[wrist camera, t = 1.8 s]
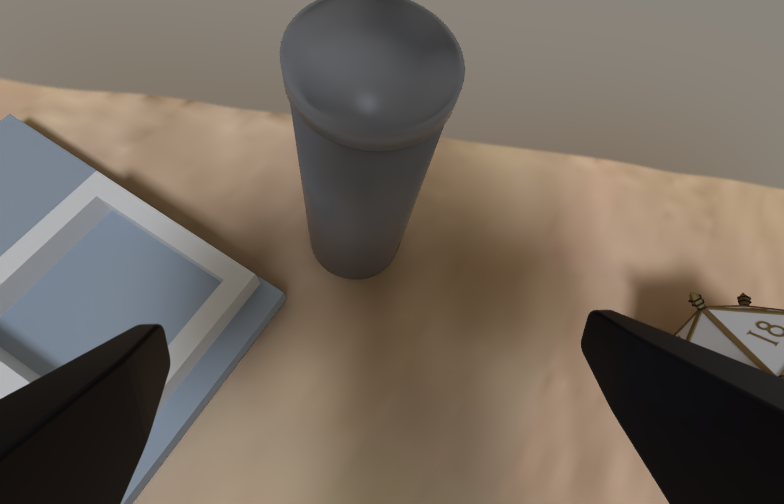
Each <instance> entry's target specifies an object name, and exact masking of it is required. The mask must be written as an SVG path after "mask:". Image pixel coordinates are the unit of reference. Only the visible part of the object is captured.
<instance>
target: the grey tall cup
mask: <svg viewBox="0 0 784 504" xmlns="http://www.w3.org/2000/svg"><path fill="white" fill-rule="evenodd" d="M280 63H281V69H282V75H283V81H284V87H285V91H286V94H287V97H288V99H289V102H290V105H291V111H292V119H293V125H294V132H295V139H296V146H297V153H298V159H299V166H300V173H301V180H302V187H303V194H304V200H305V207H306V214H307V221H308V228H309V235H310V241H311V247H312V250H313V253H314V255H315V257H316V259H317V260H318V261H319V263H320V264H321V265H322V266H323V267H324V268H325V269H327V270H328V271H329V272H331V273H333V274H335V275H337V276H340V277H343V278H348V279H363V278H368V277H371V276H374V275H376V274H378V273H379V272H381V271H382V270H384V269H385V268H386V267H387V266H388V265H389V264H390V263H391V261H392V260H393V258H394V256H395V254H396V252H397V249H398V247H399V244H400V241H401V239H402V236H403V233H404V231H405V228H406V225H407V223H408V220H409V217H410V215H411V212H412V209H413V207H414V204H415V201H416V199H417V196H418V193H419V191H420V188H421V185H422V183H423V180H424V177H425V175H426V172H427V169H428V167H429V164H430V161H431V159H432V156H433V153H434V151H435V148H436V145H437V143H438V140H439V137H440V135H441V132H442V129H443V127H444V124H445V123H446V121H447V120H448V119H449V117H450V115H451V113H452V111H453V109H454V107H455V104H456V102H457V99H458V97H459V94H460V91H461V89H462V85H463V82H464V74H465V65H464V59H463V54H462V51H461V48H460V46H459V43H458V42H457V40H456V38H455V36H454V35H453V33H452V32H451V31H450V29H449V28H448V27H447V26H446V25H445V24H444V23H443V22H442V21H441V20H440V19H439V18H438V17H437V16H436V15H434V14H433V13H432V12H430V11H429V10H427V9H425V8H424V7H422V6H421V5H419V4H417V3H415V2H413V1H411V0H317V1H315V2H313V3H311V4H309V5H308V6H306V7H305V8H304V9H302V10H301V11H300V12H299V13H298V14H297V15H296V16H295V17H294V18H293V20H292V21H291V22H290V23H289V25H288V26H287V28H286V30H285V32H284V35H283V38H282V41H281V47H280Z"/></svg>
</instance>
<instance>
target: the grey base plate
mask: <svg viewBox="0 0 784 504" xmlns="http://www.w3.org/2000/svg"><path fill="white" fill-rule="evenodd" d="M286 299H287V298H286V296H285V294H284V292H282V291H280V290H279V289H277V288H276V287H274V286H273V285H271V284H270V283H268V282H267V281H265V280H264V279H262V278H261V277H259V276H257V275H256V274H254V273H253V272H251V271H250V270H248V269H247V268H245V267H244V266H242V265H241V264H239V263H238V262H236V261H235V260H233V259H231V258H230V257H228V256H227V255H225V254H224V253H222V252H221V251H219V250H218V249H216V248H215V247H213V246H212V245H210V244H208V243H207V242H205V241H204V240H202V239H201V238H199V237H198V236H196V235H195V234H193V233H192V232H190V231H189V230H187V229H185V228H184V227H182V226H181V225H179V224H178V223H176V222H175V221H173V220H172V219H170V218H169V217H167V216H166V215H164V214H163V213H161V212H159V211H158V210H156V209H155V208H153V207H152V206H150V205H149V204H147V203H146V202H144V201H143V200H141V199H140V198H138V197H136V196H135V195H133V194H132V193H130V192H129V191H127V190H126V189H124V188H123V187H121V186H120V185H118V184H117V183H115V182H113V181H112V180H110V179H109V178H107V177H106V176H104V175H103V174H101V173H100V172H98V171H97V170H95V169H94V168H92V167H91V166H89V165H87V164H86V163H84V162H83V161H81V160H80V159H78V158H77V157H75V156H74V155H72V154H71V153H69V152H68V151H66V150H64V149H63V148H61V147H60V146H58V145H57V144H55V143H54V142H52V141H51V140H49V139H48V138H46V137H45V136H43V135H42V134H40V133H38V132H37V131H35V130H34V129H32V128H31V127H29V126H28V125H26V124H25V123H23V122H22V121H20V120H19V119H17V118H15V117H14V116H12V115H11V114H9V115H8V116H6V117H5V118H4V119H2V120H1V121H0V399H1V398H3V397H5V396H6V395H8V394H10V393H12V392H14V391H16V390H18V389H19V388H21V387H23V386H25V385H27V384H29V383H31V382H32V381H34V380H36V379H38V378H40V377H42V376H43V375H45V374H47V373H49V372H51V371H53V370H55V369H56V368H58V367H60V366H62V365H64V364H66V363H67V362H69V361H71V360H73V359H75V358H77V357H79V356H80V355H82V354H84V353H86V352H88V351H90V350H92V349H93V348H95V347H97V346H99V345H101V344H103V343H104V342H106V341H108V340H110V339H112V338H114V337H116V336H117V335H119V334H121V333H123V332H125V331H127V330H129V329H130V328H132V327H134V326H136V325H139V324H160V325H162V326H163V328H164V331H165V335H166V340H167V345H168V349H169V354H170V370H169V374H168V377H167V380H166V383H165V387H164V390H163V393H162V397H161V400H160V403H159V406H158V410H157V413H156V416H155V419H154V423H153V426H152V429H151V432H150V435H149V438H148V441H147V444H146V446H145V449H144V451H143V454H142V456H141V458H140V460H139V463H138V465H137V467H136V470H135V472H134V474H133V477H132V479H131V481H130V483H129V486H128V488H127V490H126V493H125V495H124V497H123V499H122V502H121V504H132V503H133V502H134V501H135V499H136V498H137V497H138V495H139V494H140V493H141V491H142V490H143V489H144V487H145V486H146V485H147V483H148V482H149V481H150V479H151V478H152V477H153V475H154V474H155V473H156V471H157V470H158V469H159V467H160V466H161V465H162V463H163V462H164V461H165V459H166V458H167V457H168V455H169V454H170V453H171V452H172V450H173V449H174V448H175V446H176V445H177V444H178V442H179V441H180V440H181V438H182V437H183V436H184V434H185V433H186V432H187V430H188V429H189V428H190V426H191V425H192V424H193V422H194V421H195V420H196V418H197V417H198V416H199V414H200V413H201V412H202V410H203V409H204V408H205V407H206V405H207V404H208V403H209V401H210V400H211V399H212V397H213V396H214V395H215V393H216V392H217V391H218V389H219V388H220V387H221V385H222V384H223V383H224V381H225V380H226V379H227V377H228V376H229V375H230V373H231V372H232V371H233V369H234V368H235V367H236V365H237V364H238V363H239V361H240V360H241V359H242V358H243V356H244V355H245V354H246V352H247V351H248V350H249V348H250V347H251V346H252V344H253V343H254V342H255V340H256V339H257V338H258V336H259V335H260V334H261V332H262V331H263V330H264V328H265V327H266V326H267V324H268V323H269V322H270V320H271V319H272V318H273V316H274V315H275V314H276V312H277V311H278V310H279V309H280V307H281V306H282V305H283V303H284V302H285V301H286Z"/></svg>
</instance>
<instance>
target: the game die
mask: <svg viewBox="0 0 784 504" xmlns="http://www.w3.org/2000/svg"><path fill="white" fill-rule="evenodd" d="M737 299H738V303H739V305H732V306H705V305H704V300H703V299H702V298H701V295H697V294H695V293H692V292H690V300H689V302H691V303H692V306H695V307H696V308H697V309H698V310H697V311H696V312H695V313H694V314H693V315H692V316H691V317H690V319H689V320H688V321H687V322H686V323H685V324H684V325H683V326H682V327H681V328H680V329H679V330H678V331H677V332H676V333H675V334H674V335H675V336H677V337H680V338H682V339H685V340H687V341H690V342H692V343H695V344H697V345H700V346H702V347H705V348H707V349H710V350H712V351H715V352H717V353H720V354H723V355H725V356H728V357H730V358H733V359H735V360H738V361H740V362H743V363H745V364H748V365H750V366H753V367H755V368H758V369H760V370H763V371H765V372H768V373H770V374H773V375H775V376H778V377H780V378H783V379H784V310H783V309H774V308H765V307H756V306H749V304H750V303H751V301H750V299H751V298H750V297H748V296H747V295H745V294H744V293H742V294H741V295H740V296H739V297H737Z"/></svg>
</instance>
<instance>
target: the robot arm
mask: <svg viewBox="0 0 784 504" xmlns="http://www.w3.org/2000/svg"><path fill="white" fill-rule="evenodd" d="M581 348H582V352H583V354H584V356H585V358H586V360H587V362H588V364H589V366H590V368H591V370H592V372H593V374H594V376H595V378H596V380H597V382H598V384H599V386H600V388H601V390H602V392H603V394H604V396H605V398H606V400H607V402H608V404H609V406H610V408H611V410H612V412H613V413H614V415H615V417H616V418H617V420H618V422H619V423H620V425H621V427H622V428H623V430H624V431H625V433H626V435H627V436H628V438H629V439H630V441H631V443H632V444H633V446H634V447H635V449H636V451H637V452H638V454H639V456H640V457H641V459H642V460H643V462H644V464H645V465H646V467H647V468H648V470H649V472H650V473H651V475H652V476H653V478H654V480H655V481H656V483H657V484H658V486H659V488H660V489H661V491H662V492H663V494H664V496H665V497H666V499H667V500H668V502H669V504H784V379H783V378H780V377H778V376H775V375H773V374H770V373H768V372H765V371H763V370H760V369H758V368H755V367H753V366H750V365H748V364H745V363H743V362H740V361H738V360H735V359H733V358H730V357H728V356H725V355H723V354H720V353H717V352H715V351H712V350H710V349H707V348H705V347H702V346H700V345H697V344H695V343H692V342H690V341H687V340H685V339H682V338H680V337H677V336H675V335H672V334H670V333H667V332H665V331H662V330H660V329H657V328H655V327H652V326H650V325H647V324H645V323H642V322H640V321H637V320H635V319H632V318H630V317H627V316H625V315H622V314H620V313H617V312H615V311H612V310H593V311H592V312H590V314H589V315H588V318H587V321H586V325H585V329H584V332H583V336H582V339H581ZM169 370H170V354H169V349H168V345H167V340H166V335H165V331H164V328H163V326H162V325H160V324H139V325H136V326H134V327H132V328H130V329H129V330H127V331H125V332H123V333H121V334H119V335H117V336H116V337H114V338H112V339H110V340H108V341H106V342H104V343H103V344H101V345H99V346H97V347H95V348H93V349H92V350H90V351H88V352H86V353H84V354H82V355H80V356H79V357H77V358H75V359H73V360H71V361H69V362H67V363H66V364H64V365H62V366H60V367H58V368H56V369H55V370H53V371H51V372H49V373H47V374H45V375H43V376H42V377H40V378H38V379H36V380H34V381H32V382H31V383H29V384H27V385H25V386H23V387H21V388H19V389H18V390H16V391H14V392H12V393H10V394H8V395H6V396H5V397H3V398H1V399H0V504H121V502H122V499H123V497H124V495H125V493H126V490H127V488H128V486H129V483H130V481H131V479H132V477H133V474H134V472H135V470H136V467H137V465H138V463H139V460H140V458H141V456H142V454H143V451H144V449H145V446H146V444H147V441H148V438H149V435H150V432H151V429H152V426H153V423H154V419H155V416H156V413H157V410H158V406H159V403H160V400H161V397H162V393H163V390H164V387H165V383H166V380H167V377H168V374H169Z"/></svg>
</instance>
